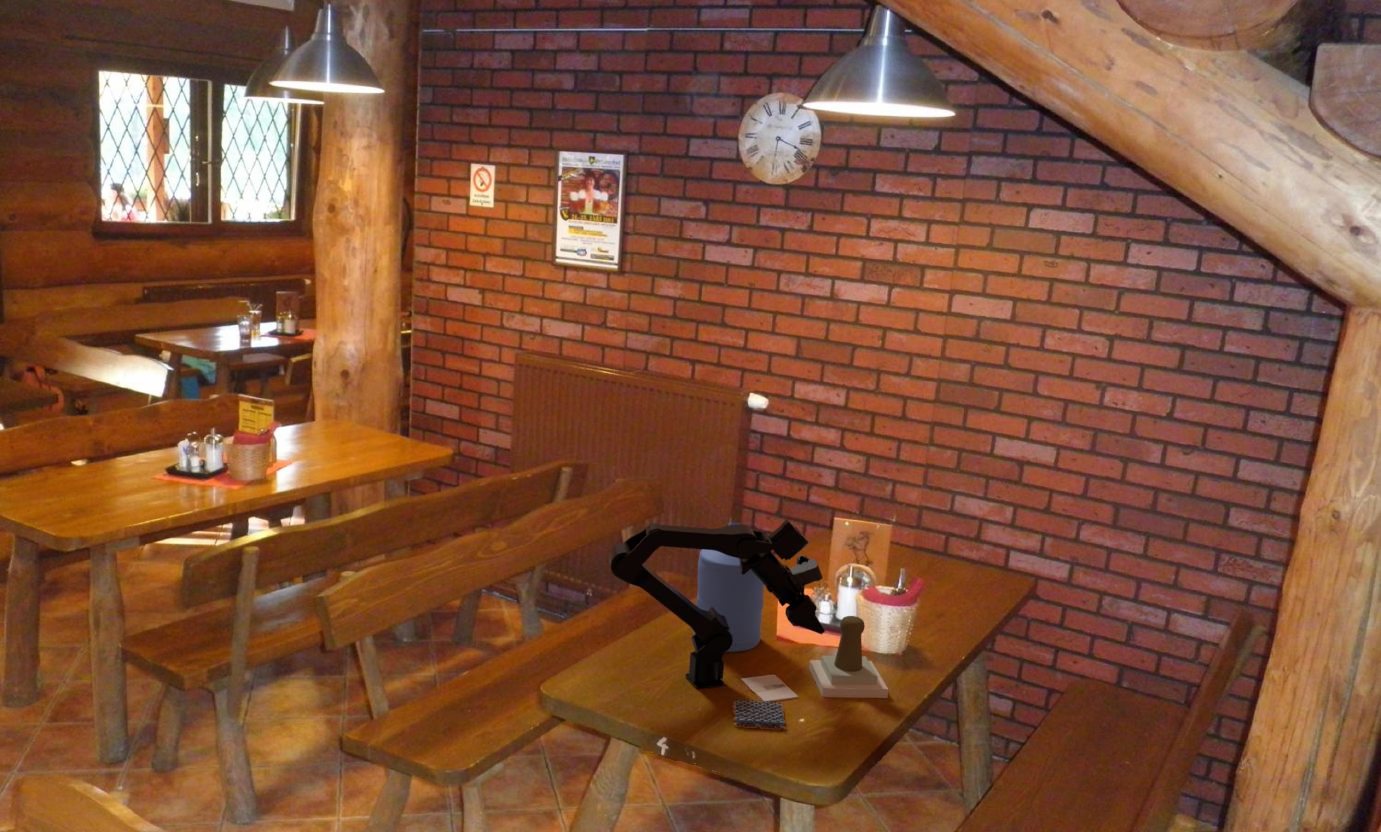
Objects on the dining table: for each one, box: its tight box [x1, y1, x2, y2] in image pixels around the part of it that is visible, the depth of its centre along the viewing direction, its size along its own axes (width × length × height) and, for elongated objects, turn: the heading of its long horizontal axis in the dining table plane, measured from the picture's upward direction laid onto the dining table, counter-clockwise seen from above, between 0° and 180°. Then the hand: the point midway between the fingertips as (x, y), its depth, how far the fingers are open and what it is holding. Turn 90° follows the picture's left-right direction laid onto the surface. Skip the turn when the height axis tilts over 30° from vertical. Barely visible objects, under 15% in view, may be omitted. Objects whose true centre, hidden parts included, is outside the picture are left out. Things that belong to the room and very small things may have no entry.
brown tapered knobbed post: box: [834, 615, 866, 672], centre depth 253 cm, size 6×6×11 cm
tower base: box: [808, 655, 889, 699], centre depth 255 cm, size 14×14×4 cm
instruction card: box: [740, 674, 799, 703], centre depth 250 cm, size 8×11×1 cm
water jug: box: [692, 522, 765, 653], centre depth 271 cm, size 16×16×28 cm
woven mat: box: [732, 698, 787, 731], centre depth 237 cm, size 10×11×2 cm
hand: (818, 623), depth 251 cm, fingers open, 9 cm apart
